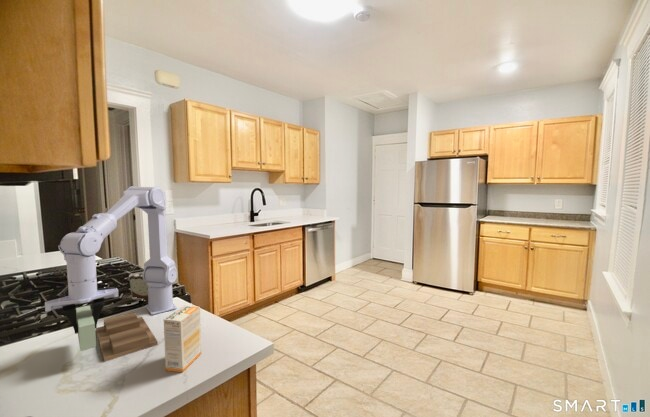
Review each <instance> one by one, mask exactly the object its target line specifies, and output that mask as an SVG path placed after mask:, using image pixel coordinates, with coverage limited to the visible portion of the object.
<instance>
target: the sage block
mask: <svg viewBox="0 0 650 417" xmlns="http://www.w3.org/2000/svg"><path fill="white" fill-rule="evenodd" d="M76 315H77V324H78V333H77V338H78V345H79V351H80V352H83V351H87V350H89V349H93V348H96V347H97V341H96V340H97V338H96V336H97V334H96V329H95V322H94V319H93V315H92V307H91V305H90V304H89V305H85V306H80V307H76Z"/></svg>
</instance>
